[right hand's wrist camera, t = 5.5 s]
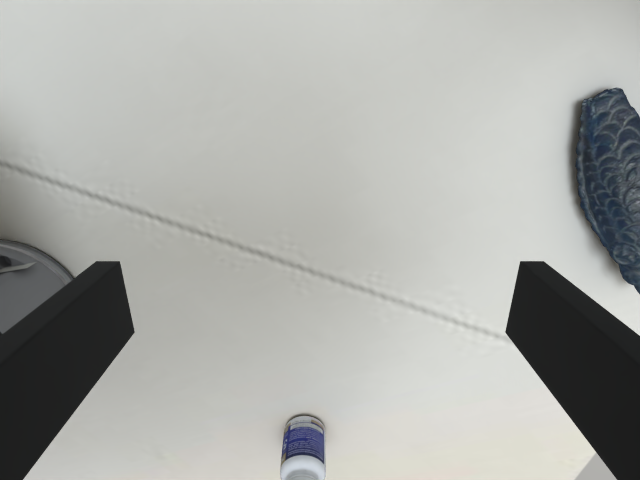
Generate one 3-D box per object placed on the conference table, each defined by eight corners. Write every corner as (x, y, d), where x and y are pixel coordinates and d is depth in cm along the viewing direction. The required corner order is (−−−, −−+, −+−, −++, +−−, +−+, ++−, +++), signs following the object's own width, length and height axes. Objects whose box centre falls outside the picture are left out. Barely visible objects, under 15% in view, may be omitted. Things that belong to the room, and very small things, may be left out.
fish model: (598, 294, 42) (633, 319, 37) (548, 113, 35) (583, 116, 31) (661, 269, 41) (705, 291, 36) (622, 77, 34) (670, 75, 30)
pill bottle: (279, 418, 49) (271, 485, 40) (320, 411, 48) (320, 478, 40) (290, 448, 51) (284, 518, 42) (329, 441, 50) (331, 511, 42)
